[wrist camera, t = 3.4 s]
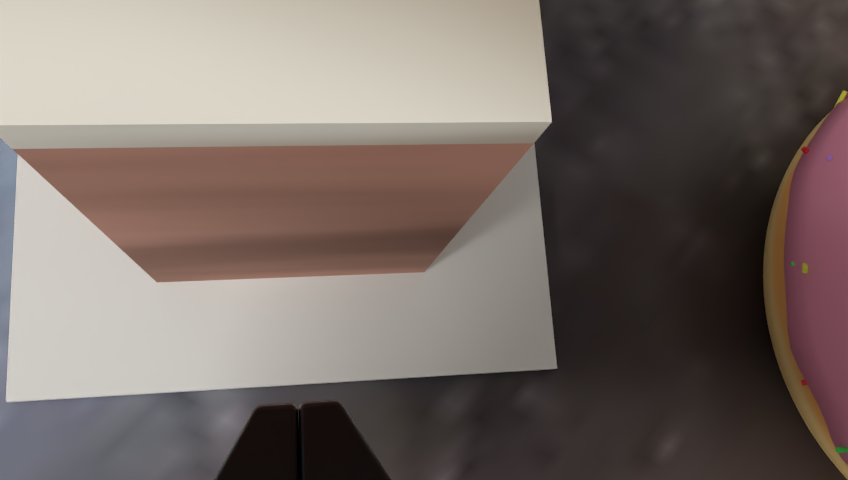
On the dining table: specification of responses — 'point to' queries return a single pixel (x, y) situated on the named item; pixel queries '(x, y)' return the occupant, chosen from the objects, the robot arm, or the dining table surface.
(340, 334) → the white paper sheet
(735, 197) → the dining table surface
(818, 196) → the doughnut
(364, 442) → the robot arm
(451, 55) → the brick block
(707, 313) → the dining table surface
